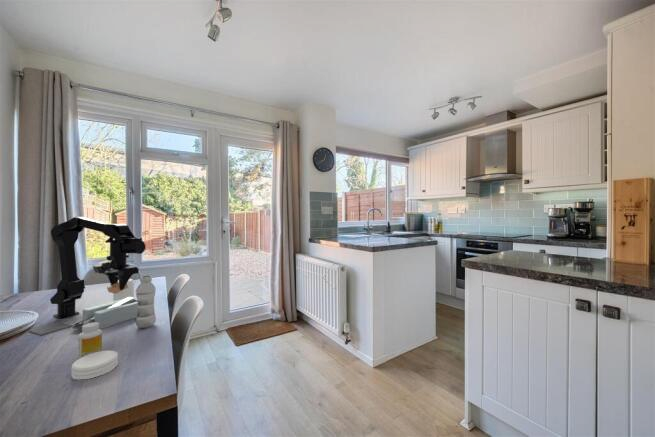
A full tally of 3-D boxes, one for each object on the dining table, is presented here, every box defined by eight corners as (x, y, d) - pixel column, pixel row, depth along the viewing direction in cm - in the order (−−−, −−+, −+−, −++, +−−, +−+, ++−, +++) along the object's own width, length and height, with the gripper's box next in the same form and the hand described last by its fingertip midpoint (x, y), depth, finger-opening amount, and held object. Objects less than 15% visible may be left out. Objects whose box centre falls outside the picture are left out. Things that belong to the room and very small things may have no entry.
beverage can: (125, 307, 127) (125, 282, 127) (108, 307, 128) (108, 282, 128) (137, 302, 136) (137, 278, 136) (122, 301, 136) (122, 278, 136)
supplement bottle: (105, 352, 85) (106, 322, 85) (85, 361, 80) (86, 329, 80) (94, 349, 87) (95, 320, 87) (74, 357, 82) (74, 326, 82)
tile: (108, 292, 114) (106, 287, 113) (120, 286, 118) (119, 281, 118) (115, 293, 112) (114, 288, 111) (128, 287, 116) (126, 282, 116)
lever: (77, 330, 100) (76, 327, 100) (72, 328, 101) (71, 325, 101) (134, 299, 118) (133, 297, 118) (129, 298, 120) (128, 296, 119)
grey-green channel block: (99, 329, 103) (100, 313, 103) (82, 323, 108) (82, 309, 107) (146, 313, 119) (147, 300, 119) (130, 309, 124) (130, 297, 124)
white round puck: (126, 363, 79) (126, 352, 79) (90, 384, 70) (90, 370, 70) (100, 359, 82) (100, 348, 82) (61, 378, 72) (61, 365, 72)
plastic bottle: (159, 325, 107) (159, 275, 107) (141, 331, 101) (142, 279, 101) (149, 322, 110) (149, 274, 110) (131, 328, 104) (132, 277, 104)
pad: (28, 331, 100) (28, 330, 100) (60, 322, 108) (60, 321, 108) (40, 335, 97) (40, 334, 97) (72, 326, 105) (72, 325, 105)
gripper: (83, 253, 111) (82, 291, 111) (110, 257, 104) (109, 296, 104) (113, 250, 121) (112, 285, 121) (139, 253, 114) (139, 289, 114)
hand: (117, 289), depth 115 cm, fingers closed on tile, 5 cm apart
